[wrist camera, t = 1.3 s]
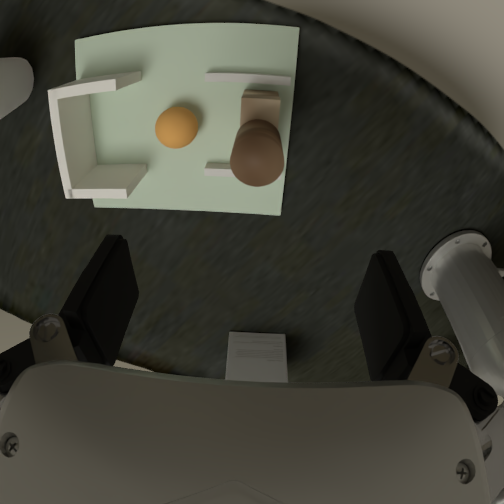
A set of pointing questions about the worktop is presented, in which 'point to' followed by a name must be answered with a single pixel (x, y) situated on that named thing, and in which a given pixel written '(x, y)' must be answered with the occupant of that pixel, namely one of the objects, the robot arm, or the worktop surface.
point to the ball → (176, 127)
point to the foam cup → (14, 83)
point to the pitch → (160, 99)
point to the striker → (258, 139)
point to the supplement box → (257, 357)
